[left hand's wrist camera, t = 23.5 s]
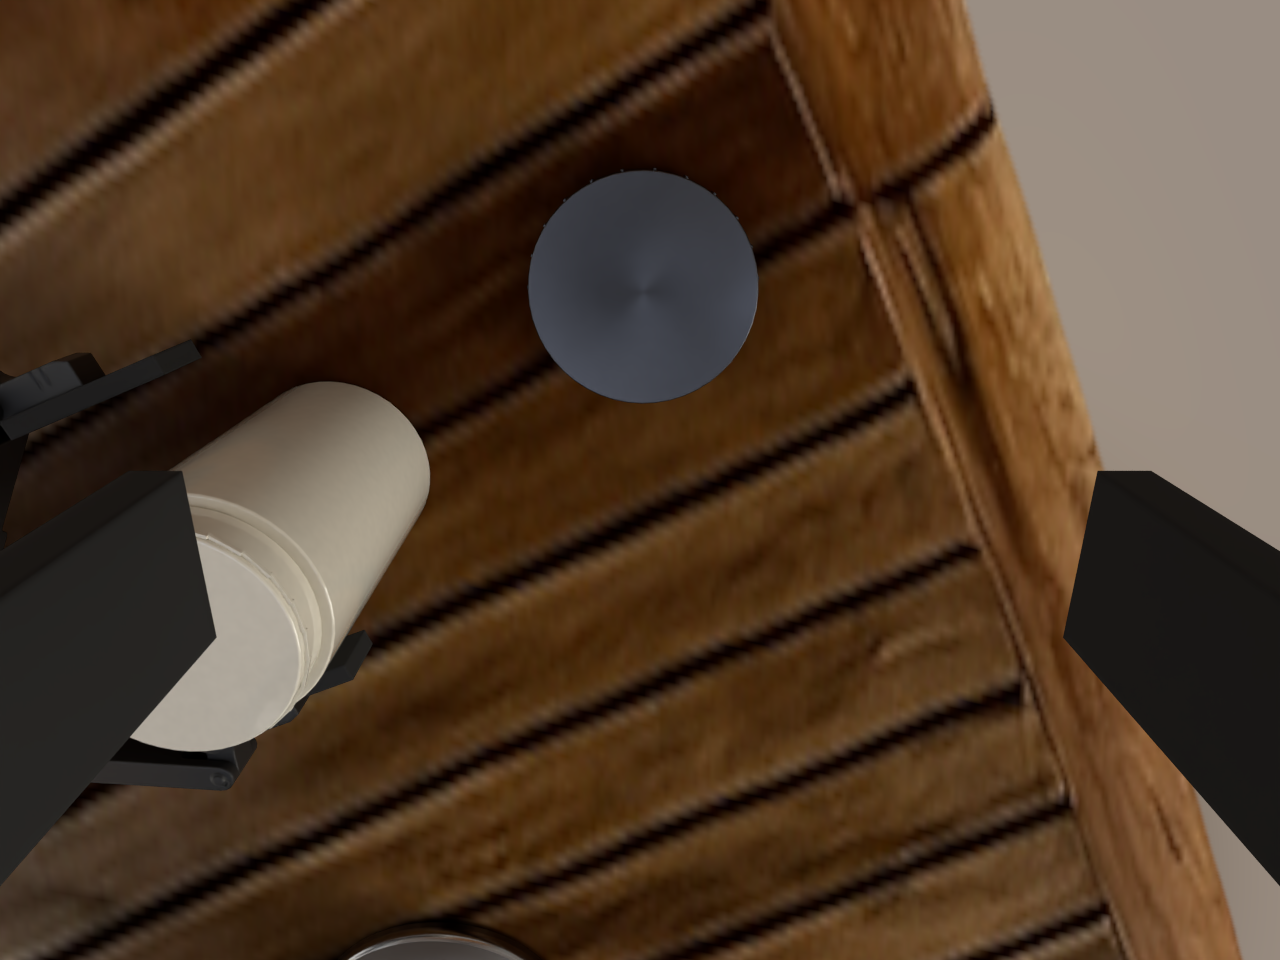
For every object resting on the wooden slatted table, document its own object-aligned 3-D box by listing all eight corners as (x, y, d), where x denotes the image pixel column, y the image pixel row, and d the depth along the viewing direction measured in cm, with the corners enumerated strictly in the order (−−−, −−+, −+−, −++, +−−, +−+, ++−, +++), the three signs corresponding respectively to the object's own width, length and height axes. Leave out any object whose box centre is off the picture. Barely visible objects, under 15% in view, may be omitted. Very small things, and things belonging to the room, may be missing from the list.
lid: (708, 128, 34) (713, 127, 32) (783, 345, 37) (791, 356, 35) (496, 220, 35) (487, 224, 33) (585, 422, 38) (582, 436, 37)
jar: (410, 570, 41) (290, 789, 27) (236, 523, 40) (18, 725, 26) (447, 411, 38) (335, 563, 24) (262, 357, 37) (31, 482, 23)
